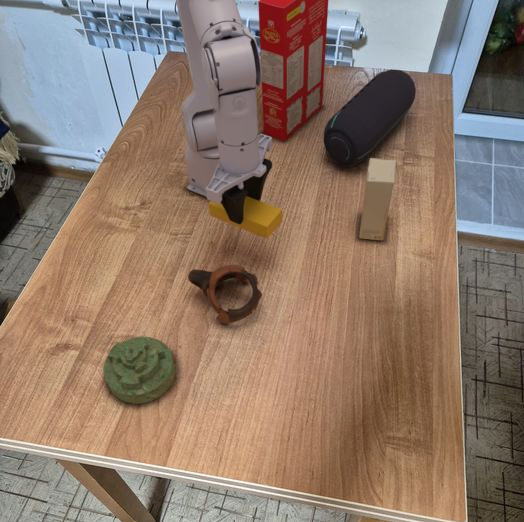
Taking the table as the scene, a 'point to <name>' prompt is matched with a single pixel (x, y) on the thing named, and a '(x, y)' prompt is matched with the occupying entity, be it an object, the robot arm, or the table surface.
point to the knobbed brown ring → (213, 279)
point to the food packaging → (291, 62)
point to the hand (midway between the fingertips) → (244, 211)
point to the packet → (252, 216)
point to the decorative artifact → (139, 370)
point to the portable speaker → (369, 117)
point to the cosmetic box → (377, 198)
